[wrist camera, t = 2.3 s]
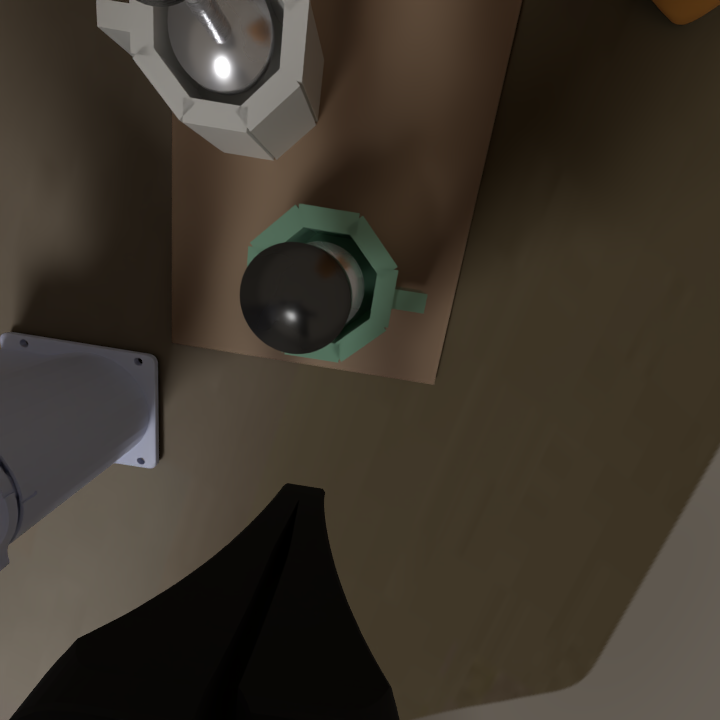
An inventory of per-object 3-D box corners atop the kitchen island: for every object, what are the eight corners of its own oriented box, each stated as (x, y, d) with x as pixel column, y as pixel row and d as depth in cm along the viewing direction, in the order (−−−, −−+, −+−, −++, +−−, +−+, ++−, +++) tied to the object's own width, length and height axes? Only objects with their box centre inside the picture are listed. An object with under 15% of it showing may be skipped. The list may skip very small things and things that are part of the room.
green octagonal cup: (266, 331, 20) (242, 347, 16) (276, 209, 18) (251, 195, 15) (404, 353, 20) (412, 374, 16) (428, 234, 18) (443, 226, 15)
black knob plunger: (275, 322, 17) (226, 352, 11) (283, 235, 15) (233, 220, 10) (357, 335, 17) (349, 372, 11) (370, 249, 15) (370, 242, 10)
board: (176, 340, 21) (171, 342, 21) (178, -56, 16) (172, -66, 15) (432, 381, 21) (433, 384, 21) (519, 2, 16) (523, -6, 15)
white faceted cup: (154, 141, 18) (93, 107, 14) (152, -23, 16) (82, -114, 12) (312, 166, 18) (296, 140, 14) (329, 7, 16) (316, -74, 12)
